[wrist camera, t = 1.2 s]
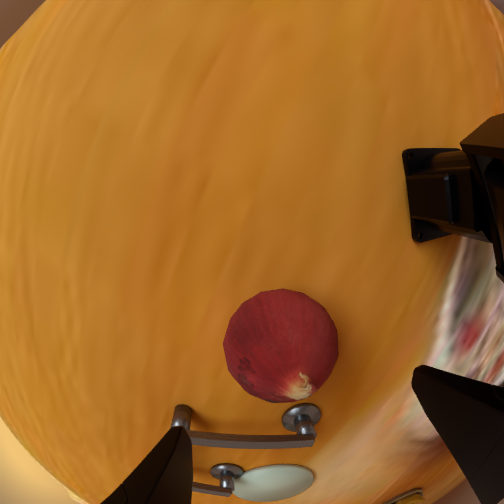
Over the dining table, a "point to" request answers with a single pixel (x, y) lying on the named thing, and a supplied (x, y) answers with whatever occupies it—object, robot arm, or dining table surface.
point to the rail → (249, 442)
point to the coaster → (273, 482)
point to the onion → (281, 346)
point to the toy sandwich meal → (408, 497)
